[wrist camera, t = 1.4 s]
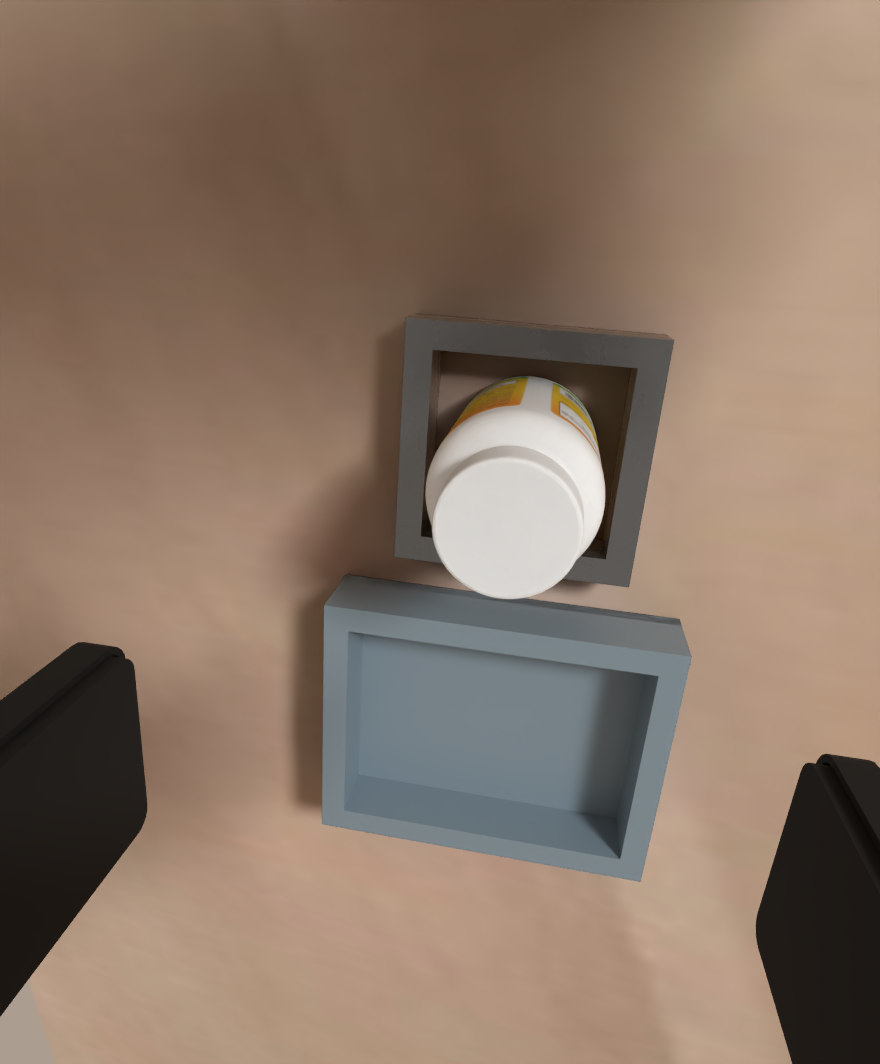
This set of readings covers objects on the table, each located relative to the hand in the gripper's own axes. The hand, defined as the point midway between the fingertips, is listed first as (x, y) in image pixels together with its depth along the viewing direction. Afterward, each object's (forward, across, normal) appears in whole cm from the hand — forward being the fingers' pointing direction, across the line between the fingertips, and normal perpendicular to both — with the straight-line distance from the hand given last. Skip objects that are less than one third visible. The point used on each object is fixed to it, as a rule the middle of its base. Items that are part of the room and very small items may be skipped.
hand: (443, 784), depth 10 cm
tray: (+19, 0, +12) cm, 22 cm away
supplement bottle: (+19, 0, 0) cm, 19 cm away
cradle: (+19, 0, 0) cm, 19 cm away
